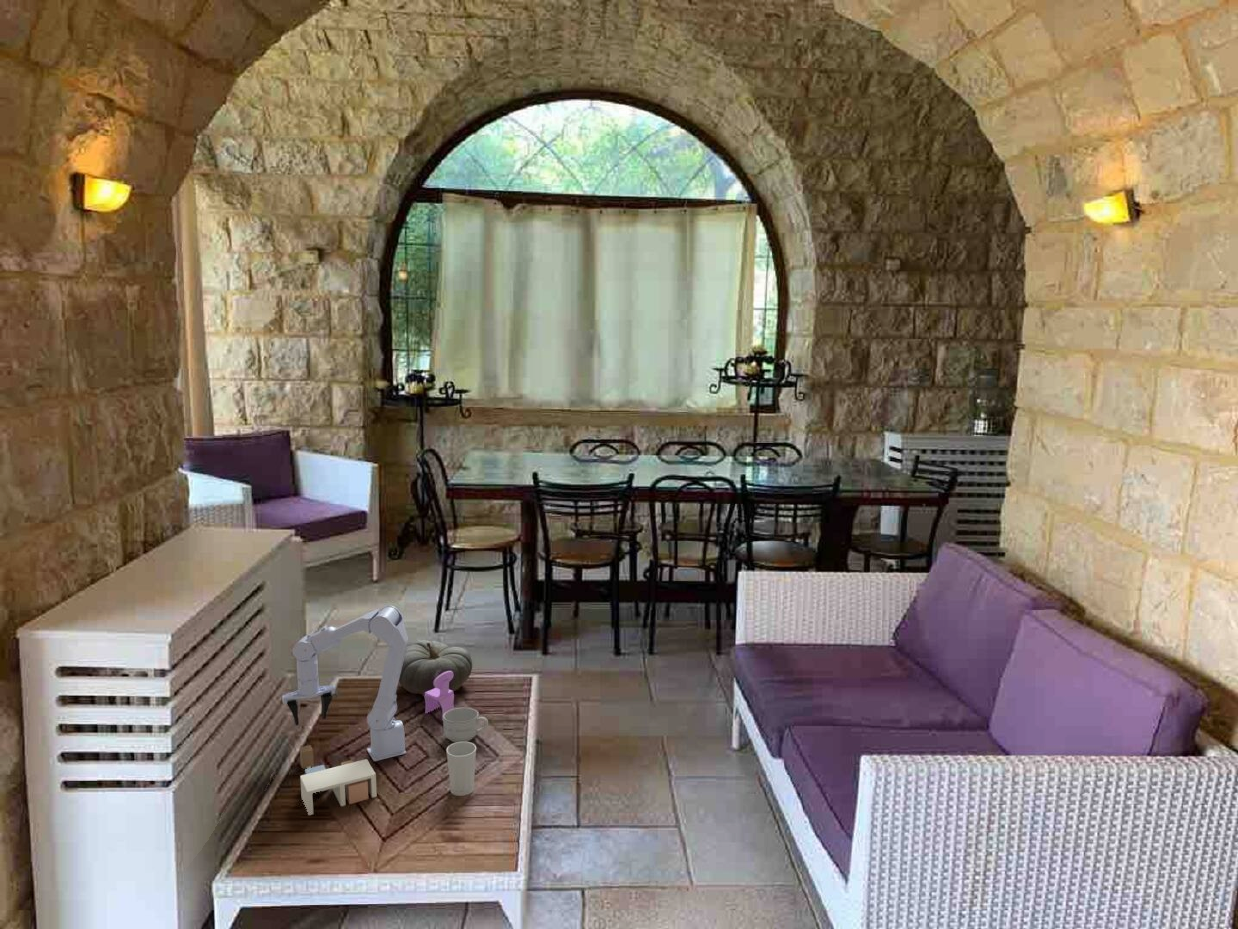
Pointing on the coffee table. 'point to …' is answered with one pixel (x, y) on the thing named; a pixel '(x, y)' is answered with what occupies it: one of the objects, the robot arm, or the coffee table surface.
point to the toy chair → (440, 694)
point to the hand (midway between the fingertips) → (310, 720)
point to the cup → (461, 767)
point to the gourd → (433, 666)
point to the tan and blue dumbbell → (309, 760)
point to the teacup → (462, 724)
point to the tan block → (356, 789)
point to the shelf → (337, 781)
